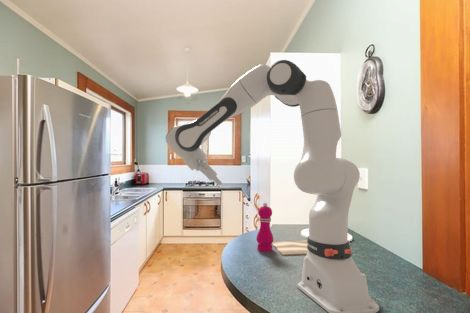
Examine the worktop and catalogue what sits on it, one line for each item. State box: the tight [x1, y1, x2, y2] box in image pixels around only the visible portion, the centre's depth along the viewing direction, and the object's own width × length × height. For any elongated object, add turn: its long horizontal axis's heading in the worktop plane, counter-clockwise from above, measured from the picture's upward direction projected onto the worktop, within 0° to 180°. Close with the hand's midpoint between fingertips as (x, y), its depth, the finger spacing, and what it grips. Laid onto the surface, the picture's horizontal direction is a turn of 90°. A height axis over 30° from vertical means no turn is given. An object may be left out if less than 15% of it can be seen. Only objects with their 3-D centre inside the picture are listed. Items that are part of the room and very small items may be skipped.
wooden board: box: [271, 239, 308, 257], centre depth 111 cm, size 16×20×1 cm
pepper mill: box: [255, 202, 274, 253], centre depth 109 cm, size 7×7×20 cm
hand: (220, 184), depth 107 cm, fingers closed
